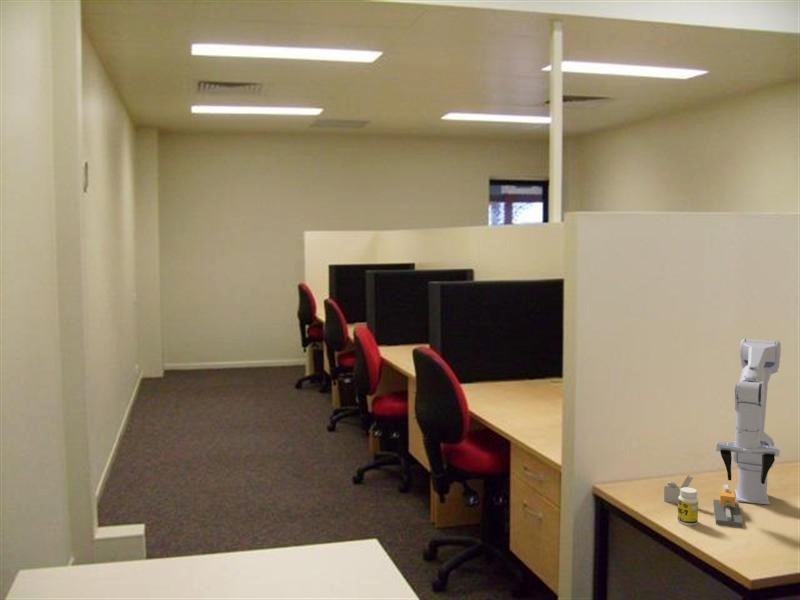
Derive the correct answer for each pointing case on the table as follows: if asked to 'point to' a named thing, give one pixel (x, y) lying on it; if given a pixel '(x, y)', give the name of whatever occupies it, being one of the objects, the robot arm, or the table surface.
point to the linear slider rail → (727, 513)
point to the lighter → (674, 490)
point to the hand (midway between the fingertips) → (745, 480)
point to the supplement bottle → (688, 506)
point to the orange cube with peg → (727, 498)
